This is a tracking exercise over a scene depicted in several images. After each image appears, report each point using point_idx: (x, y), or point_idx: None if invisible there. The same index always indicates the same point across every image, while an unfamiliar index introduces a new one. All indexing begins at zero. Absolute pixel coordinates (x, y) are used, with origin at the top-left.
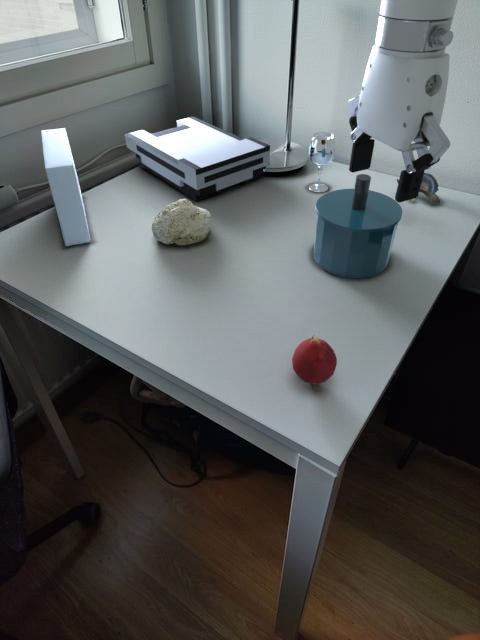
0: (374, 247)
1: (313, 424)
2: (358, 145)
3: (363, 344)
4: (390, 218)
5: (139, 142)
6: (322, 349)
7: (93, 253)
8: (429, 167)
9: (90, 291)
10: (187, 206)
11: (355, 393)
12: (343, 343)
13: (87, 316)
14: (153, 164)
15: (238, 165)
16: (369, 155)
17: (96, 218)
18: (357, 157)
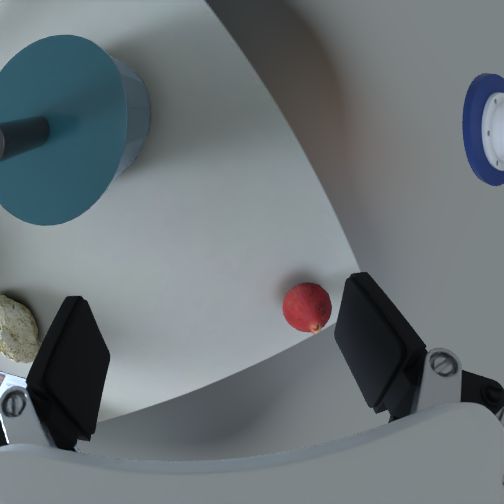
0: (135, 121)
1: (338, 305)
2: (90, 432)
3: (283, 212)
4: (101, 80)
5: None
6: (324, 321)
7: None
8: (451, 356)
9: (108, 398)
10: (5, 344)
11: (335, 259)
12: (269, 234)
13: (141, 404)
14: None
15: None
16: (74, 348)
17: (3, 366)
18: (97, 390)
